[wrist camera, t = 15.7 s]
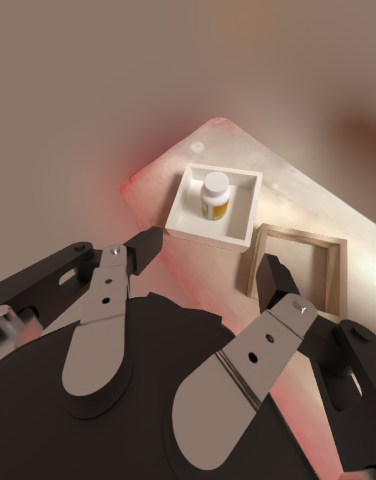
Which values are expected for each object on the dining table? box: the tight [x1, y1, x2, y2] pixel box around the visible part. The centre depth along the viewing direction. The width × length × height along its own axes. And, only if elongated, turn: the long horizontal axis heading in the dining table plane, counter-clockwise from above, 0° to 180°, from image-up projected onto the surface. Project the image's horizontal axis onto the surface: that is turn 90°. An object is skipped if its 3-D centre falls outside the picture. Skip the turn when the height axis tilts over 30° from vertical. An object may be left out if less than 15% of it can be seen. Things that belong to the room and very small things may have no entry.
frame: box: [246, 223, 347, 323], centre depth 27 cm, size 14×14×3 cm
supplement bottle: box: [201, 171, 231, 221], centre depth 28 cm, size 5×5×10 cm
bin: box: [165, 163, 263, 253], centre depth 32 cm, size 16×16×5 cm
